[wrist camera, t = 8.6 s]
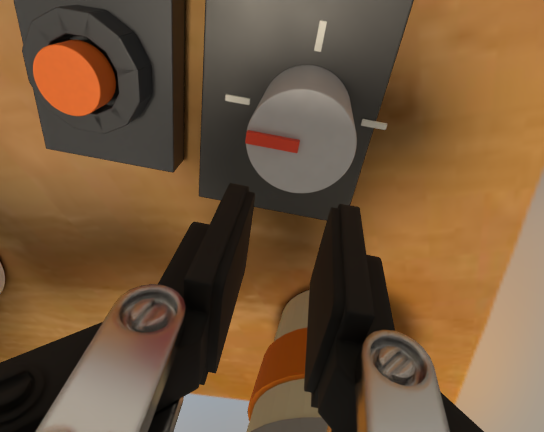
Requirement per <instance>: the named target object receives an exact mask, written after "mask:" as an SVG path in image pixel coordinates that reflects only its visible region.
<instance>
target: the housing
mask: <svg viewBox="0 0 544 432" xmlns="http://www.w3.org/2000/svg"><path fill="white" fill-rule="evenodd" d="M14 4H15V9H16V13H17V18H18V22H19V27H20V31H21V36H22V41H23V50H22V52H23V57H24V61H25V66H26V70H27V74H28V79H29V81H30V84H31V86H32V87H33V91H34V95H35V100H36V104H37V109H38V113H39V118H40V122H41V127H42V132H43V136H44V141H45V145H46V148H47V149H51V150H57V151H62V152H67V153H72V154H78V155H83V156H88V157H94V158H99V159H104V160H110V161H115V162H120V163H125V164H131V165H136V166H141V167H147V168H152V169H157V170H163V171H168V172H174V171H175V170H176V169H177V167H178V166H179V165H180V163H181V162H182V161H183V160H184V59H185V0H14ZM68 40H81V41H84V42H87V43H89V44H91V45H93V46H94V47H96V48H97V49H98V50H100V51H101V52H102V53H103V54H104V56H105V57H106V58H107V59H108V61H109V62H110V64H111V66H112V68H113V71H114V74H115V79H116V89H115V93H114V95H113V97H112V99H111V100H110V101H109V102H108V103H107V104H106V105H104V106H102V107H100V108H99V109H97V110H95V111H93V112H92V113H90V114H88V115H85V116H72V115H68V114H65V113H63V112H61V111H59V110H58V109H56V108H55V107H53V106H52V105H51V104H50V103H49V102H48V101H47V100H46V99H45V98H44V97H43V95H42V94H41V92H40V91H39V89H38V87H37V85H36V82H35V79H34V75H33V63H34V59H35V57H36V55H37V53H38V52H39V51H40V50H41V49H42V48H44V47H46V46H48V45H52V44H56V43H60V42H64V41H68Z"/></svg>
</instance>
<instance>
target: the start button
mask: <svg viewBox="0 0 544 432" xmlns="http://www.w3.org/2000/svg"><path fill="white" fill-rule="evenodd" d="M33 75H34V79H35V82H36V85H37V87H38V89H39V91H40V92H41V94H42V95H43V97H44V98H45V99H46V100H47V101H48V102H49V103H50V104H51V105H52V106H53V107H55V108H56V109H58V110H59V111H61V112H63V113H65V114H68V115H72V116H85V115H88V114H90V113H92V112H93V111H95V110H97V109H99V108H100V107H102V106H104V105H106V104H107V103H108V102H109V101H110V100H111V99H112V97H113V95H114V93H115V89H116V79H115V74H114V71H113V68H112V66H111V64H110V62H109V61H108V59H107V58H106V57H105V56H104V54H103V53H102V52H101V51H100V50H98V49H97V48H96V47H94V46H93V45H91V44H89V43H87V42H84V41H81V40H68V41H64V42H60V43H56V44H52V45H48V46H46V47H44V48H42V49H41V50H40V51H39V52H38V53H37V55H36V57H35V59H34V63H33Z"/></svg>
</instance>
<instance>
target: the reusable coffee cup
mask: <svg viewBox="0 0 544 432" xmlns="http://www.w3.org/2000/svg"><path fill="white" fill-rule="evenodd" d="M308 308H309V290H308V291H305V292H303V293H301V294H298V295H297V296H295V297H294V298H292V299H291V300H290V301H289V302H288V303H287V305H286V306H285V308H284V310H283V313H282V316H281V320H280V323H279V326H278V329H277V333H276V336H275V339H274V342H273V343H272V344H271V345H270V346H269V348H268V349H267V351H266V353H265V355H264V358H263V361H262V364H261V368H260V371H259V374H258V377H257V380H256V383H255V386H254V390H253V393H252V396H251V399H250V402H249V407H248V417H249V421H250V423H249V425H248V429H247V432H326V430H327V425H328V424H327V423H326V422H325V421H324V419H323V418H322V417H321V416H320V415H319V413H318V408H314V407H311V393H310V392H305V391H304V378H305V361H306V343H307V325H308Z"/></svg>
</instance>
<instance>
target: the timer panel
mask: <svg viewBox="0 0 544 432" xmlns="http://www.w3.org/2000/svg"><path fill="white" fill-rule="evenodd" d="M413 1H414V0H206V3H205V32H204V60H203V89H202V118H201V146H200V175H199V196H200V197H205V198H211V199H216V200H222V198H223V196H224V194H225V191H226V189H227V187H228V185H229V183H233V184H239V185H244V186H249V192H254V193H255V201H254V207H258V208H263V209H268V210H274V211H279V212H284V213H289V214H295V215H300V216H305V217H311V218H316V219H321V220H326V221H327V219H328V215H329V212H330V209H331V207H333V208H338V205H339V204H345V205H350V204H351V200H352V197H353V194H354V191H355V188H356V184H357V181H358V178H359V175H360V172H361V168H362V165H363V162H364V159H365V155H366V152H367V149H368V146H369V143H370V139H371V136H372V133H373V130H374V128H377V129H382V130H386V127H387V123H383V122H378V121H376V120H377V117H378V114H379V111H380V107H381V104H382V101H383V98H384V94H385V91H386V88H387V85H388V82H389V78H390V75H391V72H392V69H393V66H394V62H395V59H396V56H397V53H398V49H399V46H400V43H401V40H402V37H403V33H404V30H405V27H406V24H407V21H408V17H409V14H410V11H411V8H412V4H413ZM300 65H313V66H318V67H322V68H324V69H326V70H328V71H330V72H332V73H333V74H334V75H335V76H337V77H338V78H339V79H340V81H341V82H342V83H343V85H344V86H345V88H346V90H347V92H348V95H349V98H350V103H351V108H352V114H353V119H354V125H355V130H356V137H357V145H356V152H355V156H354V158H353V161H352V163H351V165H350V167H349V168H348V170H347V171H346V173H345V174H344V175H343V176H342V177H341V178H340V179H339V180H338V181H336V182H335V183H334V184H332V185H330V186H329V187H327V188H325V189H322V190H319V191H316V192H311V193H292V192H288V191H284V190H281V189H279V188H276V187H275V186H273V185H271V184H270V183H268V182H267V181H265V180H264V179H263V178H262V177H261V176H260V175H259V174H258V173H257V171H256V170H255V168H254V167H253V165H252V163H251V161H250V159H249V156H248V153H247V148H246V143H245V140H246V132H247V127H248V124H249V121H250V119H251V117H252V115H253V113H254V112H255V110H256V108H257V106H258V104H259V102H260V101H261V99H262V97H263V95H264V93H265V91H266V89H267V88H268V86H269V85H270V83H271V82H272V81H273V80H274V78H275V77H277V76H278V75H279V74H280V73H282V72H283V71H285V70H287V69H289V68H292V67H295V66H300Z"/></svg>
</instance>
